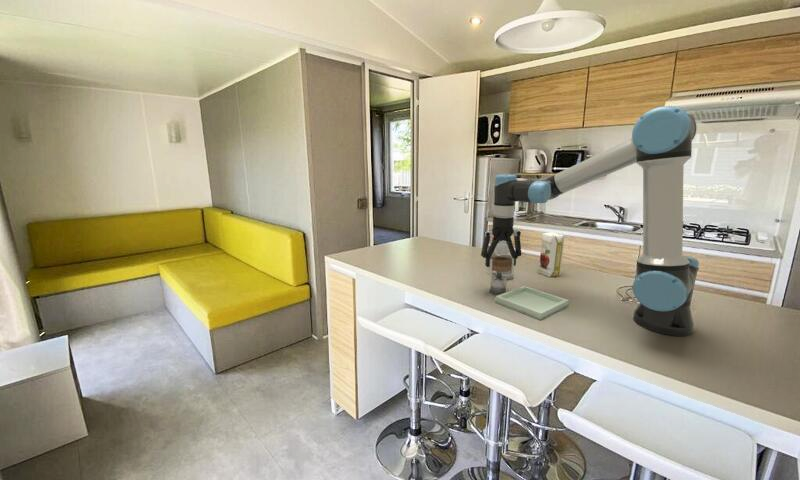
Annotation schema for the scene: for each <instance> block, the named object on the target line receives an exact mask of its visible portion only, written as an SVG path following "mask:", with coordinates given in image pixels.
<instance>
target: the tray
mask: <svg viewBox="0 0 800 480" xmlns="http://www.w3.org/2000/svg"><path fill="white" fill-rule="evenodd" d="M494 298H495V299H494V303H496V304H498V305H501V306H503V307H506V308H508V309H511V310H513V311H516V312H518V313H521V314H524V315H526V316H528V317H531V318H534V319H536V320H538V321H542V320H543V319H545V318H548V317H550V316H551V315H554V314H557V313H558V312H560V311H562V310H564V309H565V308H568V307H569V303H570V300H569V299H567V298H564V297H561V296H557V295H554V294H551V293H548V292H544V291H542V290H539V289H536V288H532V287H529V286H527V285H522V286H519V287H517V288H514V289H511V290H508V291H506V293H503V294H500V295H495V297H494Z"/></svg>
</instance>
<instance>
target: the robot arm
mask: <svg viewBox="0 0 800 480" xmlns="http://www.w3.org/2000/svg"><path fill="white" fill-rule="evenodd" d="M697 126H698V125H697V123H696V120H695V118H694V117H693V116H692V115H691V114H689V113H688V112H687V111H686V110H684V109H683V108H680V107H678V106H672V105H668V106H667V105H663V106H658V107H654V108H653V109H650V110H647V111H646V112H645V113H644V114H642V115H641V116H640V117H639V118H638V119H637V120H636V122H635V124H634V126H633V128H632V132H631V138H629V139H628V140H625V141H623V142H621V143H618V144H616V145H615V146H612V147H610V148H608V149H606V150H604V151H602V152H599V153H598V154H595V155H593V156H592V157H589V158H587V159H584V160H582V161H581V162H579V163H577V164H574V165H572V166H570V167H568V168H566V169H564V170H561V171H560V172H557V173H555V174H553V175H551V176H549V177H547V178H544V179H538V180H518V179H517V178H518V177H517V175H516V174H497V175H495V178H494V179H495V181H494V187H493V188H494V189H493V191H494V196H493V212H492V214H493V216H492V229H491V230H490V231H486V230H485V231H483V234H484V238H483V239H484V240H483V243H482V249H481V252H480V256H481V257H482V258H484V259H485V263H484V264H485V267H486V268H487V269H486V270H487V271H486V274H487V275H488V276H491V277H492V276H493V275H492V274H493V271H492V259H491V256H492V254H493V252H494V250H495V248H496V246H497V244H498V243H499V241H506V243H507V245H508V248H509V250H508V252H510V255H511V256H512V257H509V258H511V259H512V267H511V271H508V273H510V274H511V275H513V273H514V270H515V269H514V266H516V264H517V259H518V257H521V256H522V246H521V231H520V230H514V220H515V218H514V216H515V207H516V204H515V203H516V202H518V203H519V202H520V203H532V204H546V203H547V202H548V201H551V200H553V199H556V198H558V197H559V196H560V195H561V196H562V195H563V194H566V193H567V192H570V191H572V190H574V189H577V188H579V187H582V186H583V185H586V184H589V183H592V182H594V181H596V180H598V179H602V178H603V177H605V176H607V175H610V174H612V173H614V172H617V171H620V170H623V169H624V168H626V167H629V166H632V165H634V164H637V165H638V166H640V167H641V168H642V172H643V174H642V180H643V182H642V255H640V256H639V257H637V259H636V277H635V279H634V280H633V283H632V291H633V295H634V297H635V299H636V300H637V301H638V302H639V303H638V305H637V307H636V308H635V309H634V312H633V317H632V319H633V321H634V322H635V324H637V325H639V326H640V327H642V328H644V329H646V330H648V331H652V332H655V333H658V334H662V335H666V336H667V335H668V336H676V337H686V336H690V335H692V333H693V331H694V324H695V323H694V319H693V315H692V311H691V302H692V298H693V294H694V289H695V284H696V280H697V275H698V271H699V269H700V268H699V265H700V261H699V260H698V258H695V257H692V256H687V255H684V254H683V236H684V234H683V231H684V230H683V227H684V226H683V224H684V223H683V222H684V221H683V220H684V169H685V167H684V165H685V163H687V162H688V161H689V160H690V159H691V158H692V151H693V150H692V147H693V145H692V143H693V142H692V141H694V138H695V137H696V134H697V128H698V127H697ZM492 236H493V238H492V239H491V237H492ZM512 237H513V240H512ZM490 240H491V241H492V243H491V241H490ZM513 241H514V245H513ZM490 244H491V245H490ZM489 245H490V246H489ZM513 276H514V275H513Z"/></svg>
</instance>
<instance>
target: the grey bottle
mask: <svg viewBox="0 0 800 480" xmlns="http://www.w3.org/2000/svg"><path fill="white" fill-rule="evenodd" d="M507 282H508V280H507V278H506V277H504V276H502V272H499V271H497V275H496V274H495V275H492V276H491V277H490V286H489V287H490V290H489V292H490V294H492V295H495V296H498V295H500V294H503V293H506V292H507Z"/></svg>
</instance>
